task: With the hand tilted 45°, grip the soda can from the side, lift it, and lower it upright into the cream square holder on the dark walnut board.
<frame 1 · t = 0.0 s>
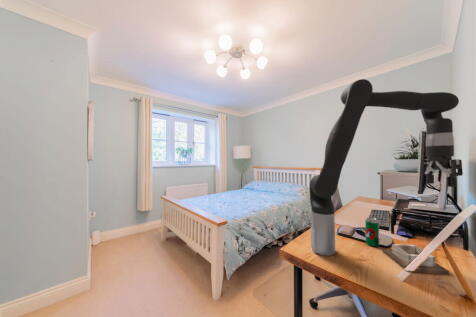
hand: (440, 184, 71), 29 cm above the table, tool pointing down, fingers open, 8 cm apart
soda can: (372, 245, 82), on the table
holder: (412, 262, 68), on the table
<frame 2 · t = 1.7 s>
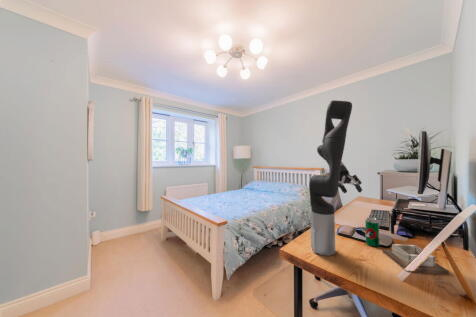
hand: (353, 192, 93), 23 cm above the table, tool tilted 45°, fingers open, 8 cm apart
nothing on the table moved.
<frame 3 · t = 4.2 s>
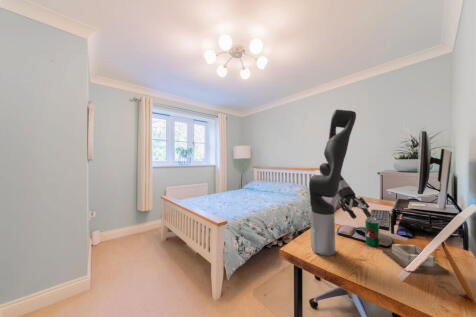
hand: (362, 217, 87), 11 cm above the table, tool tilted 45°, fingers open, 8 cm apart
nothing on the table moved.
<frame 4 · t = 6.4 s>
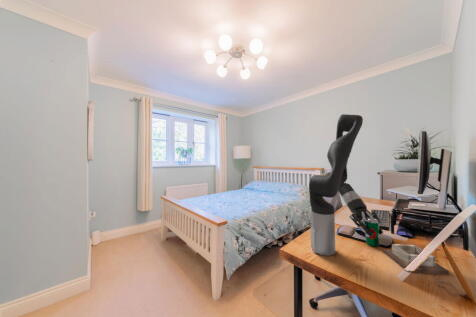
hand: (376, 234, 81), 6 cm above the table, tool tilted 45°, fingers closed on soda can, 5 cm apart
soda can: (372, 245, 82), on the table, touching gripper
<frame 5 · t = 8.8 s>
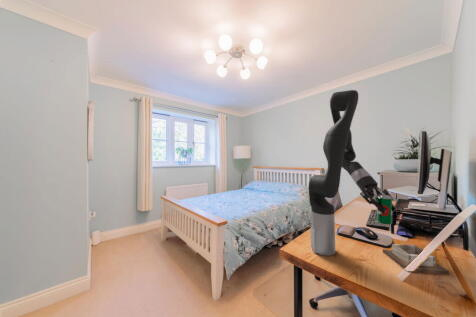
hand: (389, 211, 76), 18 cm above the table, tool tilted 45°, fingers closed on soda can, 5 cm apart
soda can: (384, 223, 77), point 12 cm above the table, touching gripper
when the fingers open (8 cm above the table, at t = 11.7 s): soda can drops 1 cm, resting on holder.
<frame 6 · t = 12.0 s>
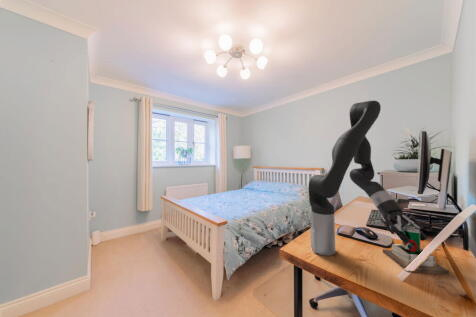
hand: (416, 241, 67), 9 cm above the table, tool tilted 45°, fingers open, 8 cm apart
soda can: (411, 259, 69), point 1 cm above the table, touching holder
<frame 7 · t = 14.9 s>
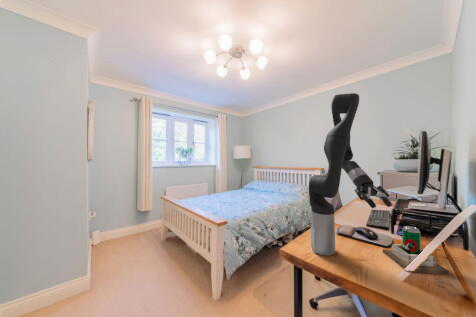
hand: (382, 206, 79), 19 cm above the table, tool tilted 45°, fingers open, 8 cm apart
nothing on the table moved.
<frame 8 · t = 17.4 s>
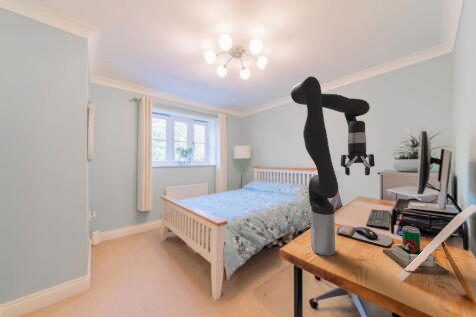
hand: (357, 175, 87), 32 cm above the table, tool pointing down, fingers open, 8 cm apart
nothing on the table moved.
at the end: soda can 0.2 cm from the holder (horizontally); soda can point 1.0 cm above the table; soda can tilted 0° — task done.
